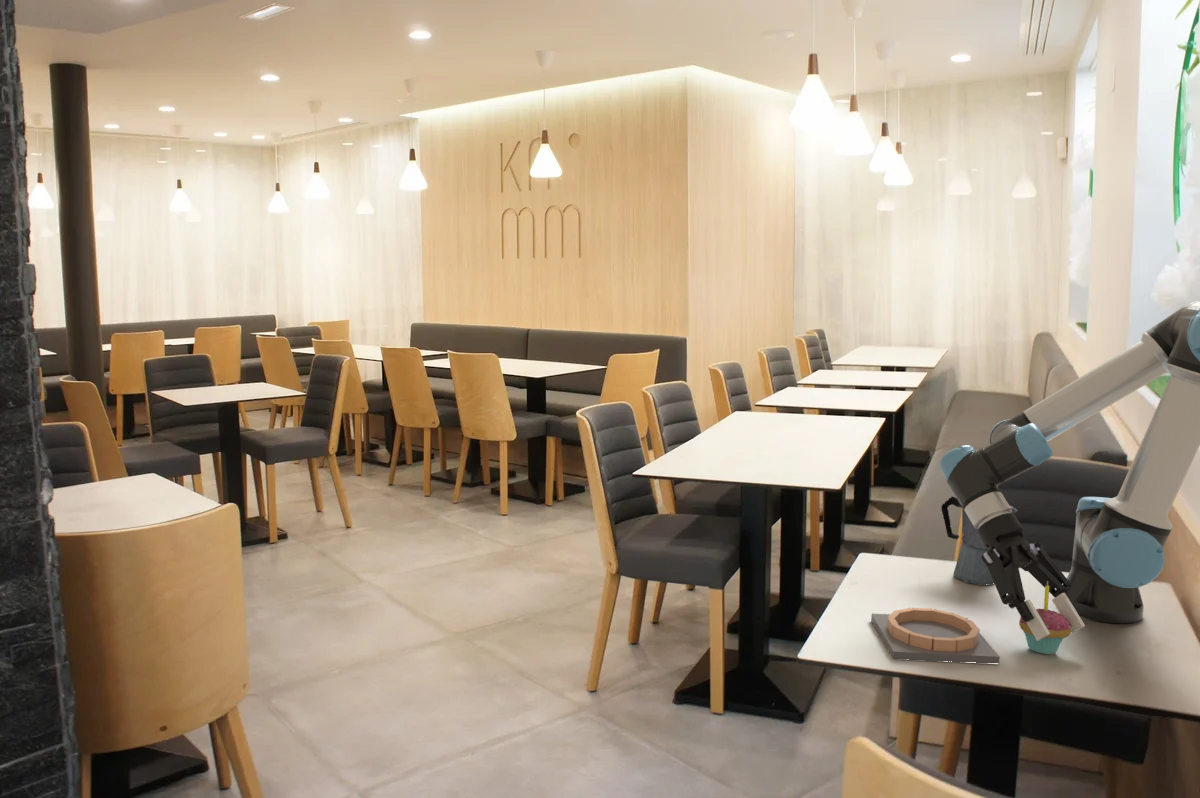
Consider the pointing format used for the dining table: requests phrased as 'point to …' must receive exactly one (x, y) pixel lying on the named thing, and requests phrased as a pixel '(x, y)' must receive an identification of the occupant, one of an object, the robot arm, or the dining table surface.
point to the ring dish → (932, 636)
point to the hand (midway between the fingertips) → (1061, 633)
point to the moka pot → (969, 549)
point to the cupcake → (1055, 626)
